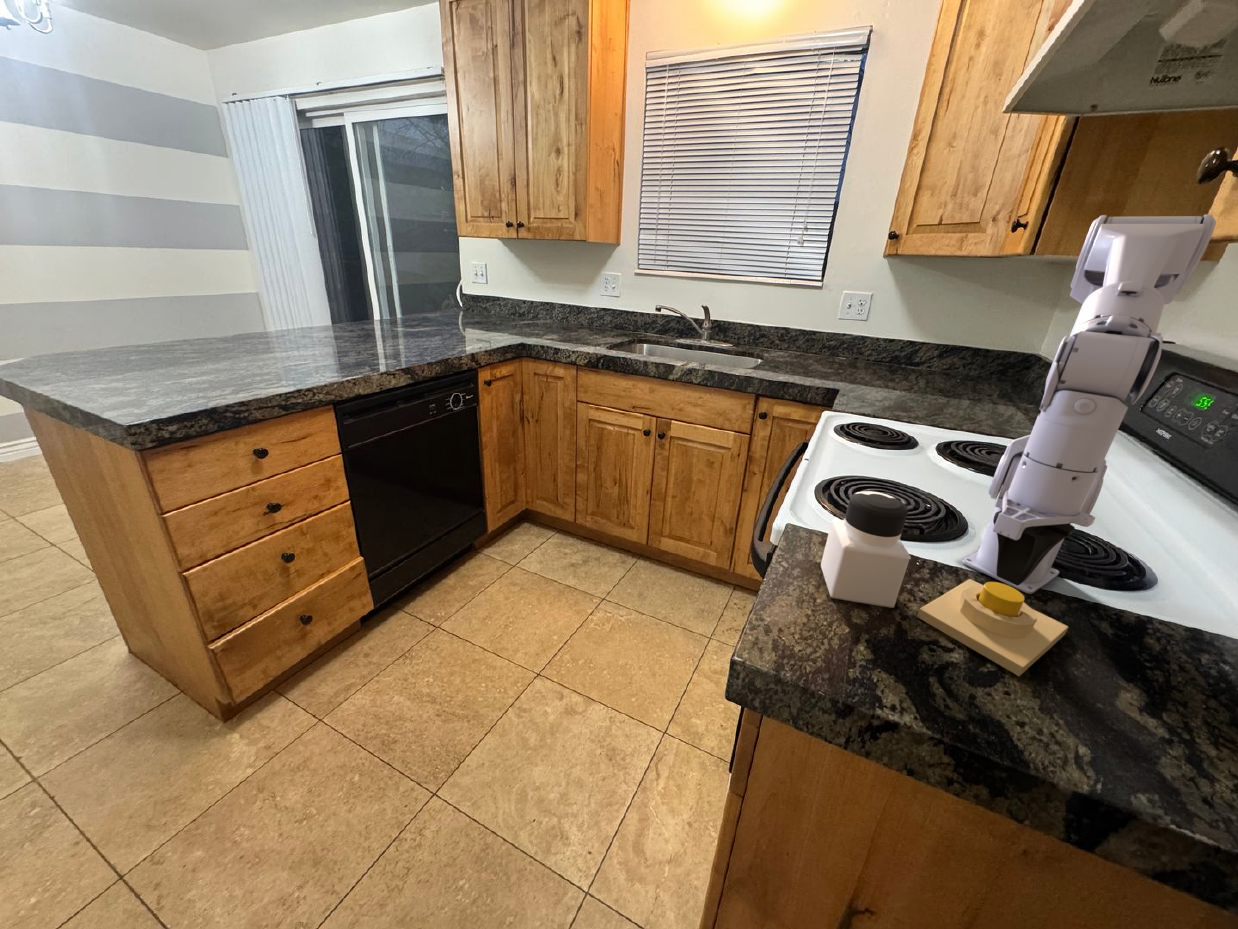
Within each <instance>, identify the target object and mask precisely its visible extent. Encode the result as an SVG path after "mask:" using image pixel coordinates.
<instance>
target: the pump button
mask: <svg viewBox="0 0 1238 929" xmlns="http://www.w3.org/2000/svg"><path fill="white" fill-rule="evenodd" d="M983 585H984V587H983V589H982V592H981V594H980V597H979V599H978V600H979V603H981V604H982V605H983V606H984V607H985V608H987V609H989V610H991V611H993V612H995V613H998V614H1001V615H1005V616H1008V617H1016V616H1017V615H1018V614H1019V611H1020V609H1021V607H1022V605H1023V602H1024V603H1025V598H1026V597H1025V596H1024V594H1023V593H1021V592H1020V590H1019V589H1016V588H1014V587H1012V586H1010V585H1008V584H1006V583H1003V582H997V581H988V582H987V581H986V582H985V583H984V584H983Z"/></svg>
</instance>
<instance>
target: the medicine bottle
mask: <svg viewBox="0 0 1238 929" xmlns="http://www.w3.org/2000/svg"><path fill="white" fill-rule="evenodd" d="M908 514H909V509H908V508H907V506H906V505H905V503H904V502H902V501H900V500H899V499H897V498H896V497H894V496H892V495H890V494H886V493H884V492H879V491H870V490H869V491H868V490H867V491H865V490H864V491H857V492H855V493H853V494H851V495H850V497H849V501H848V504H847V509H846V512H845V516H844V519H840V518H833V519H832V520H831V521H830V527H829V531H828V533H827V534H828V535H827V539H826V543H825V546H824V549H823V554H822V558H821V562H820V568H821V571H822V575H823V578H824V581H825V585H826V587H827V591H828V595H829V597H830V598H831V599H834V600H841V601H847V602H851V603H859V604H864V605H865V604H866V605H872V606H878V607H883V608H890V609H893V608H895V607H896V604H897V601H898V597H899V595H900V592H901V589H902V586H903V582H904V579H905V577H906V574H907V571H908V568H909V564H910V563H911V562H910V561H911V559H912V558H911V555H910V553H909V552H908V550H907V549H906V547H905V545H904V544H903V542H902V541H901V537H902V533H903V530H904V527H905V523H906V520H907V517H908Z"/></svg>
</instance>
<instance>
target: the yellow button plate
mask: <svg viewBox="0 0 1238 929" xmlns="http://www.w3.org/2000/svg"><path fill="white" fill-rule="evenodd" d="M983 587H984V584H981V583H979V582H977V581H976V580H973V579H971V578H969V579H967V580H966V581H963V582H962V583H960V584H959V585H957V586H956V587H953V588H952V589H950V590H948V591H947V592H945V593H944V594H942V595H939V597H937V598H935V599H933V600H931V601H930V602H928V603H927V604H925V605H923V606H922V607H920V608H918V613H917V615H916V618H917V619H920V620H922V621H923V622H924V623H926V624H928V625H930V626H931V627H933V628H935V629H937V630H939V631H940V632H942V633H944V634H946V635H948V636H949V637H950V638H952V639H953V640H956V641H958V642H959V643H961V644H963V645H964V646H966V647H968V648H969V649H970V650H973V651H975V652H976V653H978V654H979V655H982V656H983V657H985V658H986V659H989V660H990V661H992V662H994V663H995V664H997V665H999V666H1001V667H1002V668H1004V669H1006V670H1007V671H1009V672H1011V673H1012V674H1015V676H1018V677H1020V676H1021V675H1023V673H1025V672H1026V671H1027V670H1028V669H1029V668H1031V666H1032V665H1033V664H1035V663H1036V662H1037V661H1038V660H1039V659H1040V658H1041V657H1042V656H1044V655H1045V654H1046V653H1047V652H1048V651H1049V650H1050V649H1051V648H1053V647H1054V645H1056V643H1058V641H1060V640H1061V639H1062V638H1063V637H1064V636H1065V635H1066V634H1067V631H1068V630H1069V626H1068V625H1066V624H1064V623H1062V622H1061V621H1058V620H1056V619H1054V618H1052V617H1049V616H1048V615H1046V614H1044V613H1042V612H1040V611H1038V610H1035V609H1034V608H1032V607H1030V606H1029V605H1028V604H1027V603H1026V602H1025V601H1024V602H1023V605H1022V607H1021V609H1020V611H1019V614H1018V615H1017V616H1016V617H1008V616H1005V615H1001V614H998V613H995V612H993V611H991V610H989V609H987V608H985V607H984V606H983V605H982V604H981V603H979V600H978V599H979V597H980V594H981V592H982V589H983Z"/></svg>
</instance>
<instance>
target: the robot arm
mask: <svg viewBox="0 0 1238 929" xmlns="http://www.w3.org/2000/svg"><path fill="white" fill-rule="evenodd" d="M1216 225H1217V220H1216V219H1215V217H1214V216H1213V214H1210V213H1209V214H1208V213H1205V214H1204V215H1203V216H1202V215H1188V216H1187V215H1185V216H1184V215H1179V216H1178V215H1176V216H1175V215H1171V216H1170V215H1167V216H1166V215H1165V216H1164V215H1162V216H1161V215H1159V216H1158V215H1157V216H1155V215H1154V216H1152V215H1151V216H1149V215H1148V216H1108V214H1102V215H1101V214H1100V215H1099V217H1097V218H1096V219H1094V220H1093V221H1092V223H1091V225H1090V227H1089V230H1088V232H1087V234H1086V237H1085V240H1084V242H1083V246H1082V247H1081V250H1080V253H1079V255H1078V259H1077V262H1076V265H1075V272H1074V275H1073V278H1072V280H1071V283H1070V289H1071V291H1070V294H1069V297H1071V298H1072V299H1074V300H1075V301H1077V302H1078V303H1080V304H1081V307H1080V310H1079V312H1078V315H1077V317H1076V319H1075V322H1074V324H1073V327H1072V329H1071V331H1070V334H1069V337H1068V334H1065V336H1064V337H1063V338H1062V340H1061V341H1060V344H1059V346H1058V348H1057V351H1056V354H1055V356H1054V359H1053V361H1052V363H1051V367H1050V369H1049V371H1048V374H1047V377H1046V379H1045V388H1044V392H1043V393H1044V394H1043V396H1042V399H1041V402H1040V406H1039V408H1038V410H1040V413H1038V415H1037V417H1036V420H1035V422H1034V425H1033V427H1032V429H1031V433H1030V434H1028V435H1024V436H1022V437H1018V438H1015V439H1013V440H1012V441H1011V443H1008V444H1007V446H1006V449H1005V451H1004V454H1002V456H1001V458H1000V460H999V462H998V465H997V466H996V470H995V472H994V475H993V477H992V480H991V483H990V486H989V488H988V492H987V493H988V495H989V496H990V498H991V499H992V500H996V501H995V504H994V506H995V508H994V510H993V513H992V515H991V518H990V520H989V524H988V526H987V528H986V531H985V534H984V536H983V538H982V541H981V544H980V545H979V549H978V551H977V552H974V553H973V554H971V555H969V556H967V557H965V558H964V559H962V564H964V565H965V566H967V567H969V568H972V569H973V570H976V571H978V572H980V573H981V574H984V575H987V576H988V577H991V578H993V579H995V580H998V581H1000V583H1003V584H1005V585H1008V586H1010V587H1012V588H1014V589H1016V590H1018V591H1021V592H1023V593H1025V594H1027V595H1032V594H1034V593H1036V592H1037V591H1038V590H1039V589H1041V588H1042V587H1044V586H1045V585H1046V584H1048V583H1049V582H1050V581H1052V580H1053V579H1055V578H1056V577H1058V575H1060V570H1058V569H1056V568H1053V564H1054V561H1055V559H1056V557H1057V555H1058V554H1059V551H1060V549H1061V547H1062V544H1063V542H1064V540H1065V539H1066V538H1067V537H1069V536H1070V535H1072V534H1073V533H1074V532H1075V530H1076V527H1075V526H1074V525H1077V526H1080V527H1085V528H1087V527H1090V526H1092V525H1093V524H1094V523H1095V520H1096V517H1095V516H1094V515H1092V514H1091V513H1092V511H1093V510H1094V507H1095V505H1096V503H1097V500H1098V498H1099V496H1100V494H1101V491H1102V488H1103V484H1104V477H1105V475H1106V471H1107V469H1108V465H1107V460H1106V457H1107V455H1108V452H1109V450H1110V448H1111V446H1112V443H1113V441H1114V439H1115V437H1116V435H1117V433H1118V430H1119V428H1120V426H1121V424H1122V422H1123V420H1124V418H1125V415H1126V413H1127V411H1128V409H1129V405H1128V404H1127V403H1126V398H1127V397H1128V396H1130V397H1131V400H1130V404H1131V405H1132V406H1133V405H1135V404H1136V403H1137V401H1138V400H1139V399H1140V398H1141V397H1142V395H1143V394H1144V393H1145V391H1146V390H1147V388H1148V386H1149V384H1150V383H1151V380H1152V378H1153V376H1154V374H1155V371H1156V369H1157V367H1158V364H1159V361H1160V359H1161V356H1162V350H1163V349H1162V348H1163V342H1164V337H1163V336H1162V333H1161V332H1157V331H1158V328H1159V325H1160V320H1161V317H1162V313H1163V311H1164V307H1165V305H1168V304H1169V305H1170V304H1171V303H1172V301H1173V300H1174V299H1175V297H1176V295H1179V294H1180V293H1181V291H1182V290H1183V288H1184V286H1185V284H1186V282H1187V281H1188V279H1189V277H1190V276H1191V274H1192V273H1194V271H1195V270H1196V268H1197V266H1198V265H1199V263H1200V261H1201V260H1202V257H1203V255H1204V254H1205V251H1206V250H1207V248H1208V245H1209V243H1210V241H1211V238H1212V236H1213V233H1214V232H1215V227H1216ZM1072 524H1074V525H1072Z"/></svg>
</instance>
